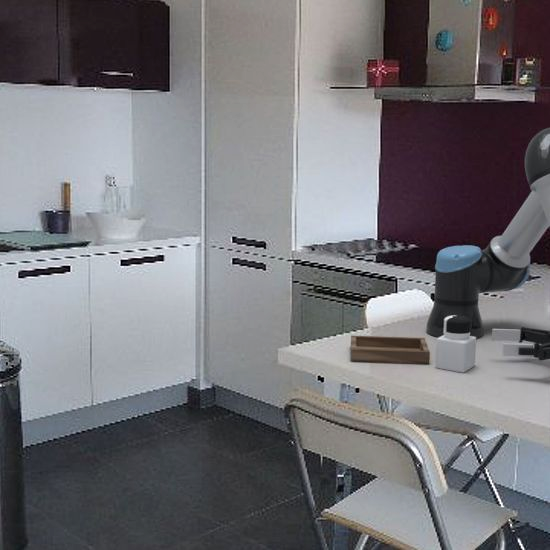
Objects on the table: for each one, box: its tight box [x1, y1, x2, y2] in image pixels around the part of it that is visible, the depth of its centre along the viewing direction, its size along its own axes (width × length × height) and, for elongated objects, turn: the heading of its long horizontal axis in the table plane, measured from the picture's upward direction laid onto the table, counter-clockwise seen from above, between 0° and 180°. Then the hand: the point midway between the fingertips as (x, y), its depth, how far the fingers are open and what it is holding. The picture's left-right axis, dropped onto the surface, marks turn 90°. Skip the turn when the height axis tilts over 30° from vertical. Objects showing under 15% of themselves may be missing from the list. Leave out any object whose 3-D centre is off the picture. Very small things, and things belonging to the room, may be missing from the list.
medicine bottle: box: [434, 315, 477, 373], centre depth 197 cm, size 7×7×12 cm
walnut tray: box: [350, 335, 431, 365], centre depth 206 cm, size 13×18×3 cm
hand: (497, 341), depth 195 cm, fingers open, 13 cm apart
